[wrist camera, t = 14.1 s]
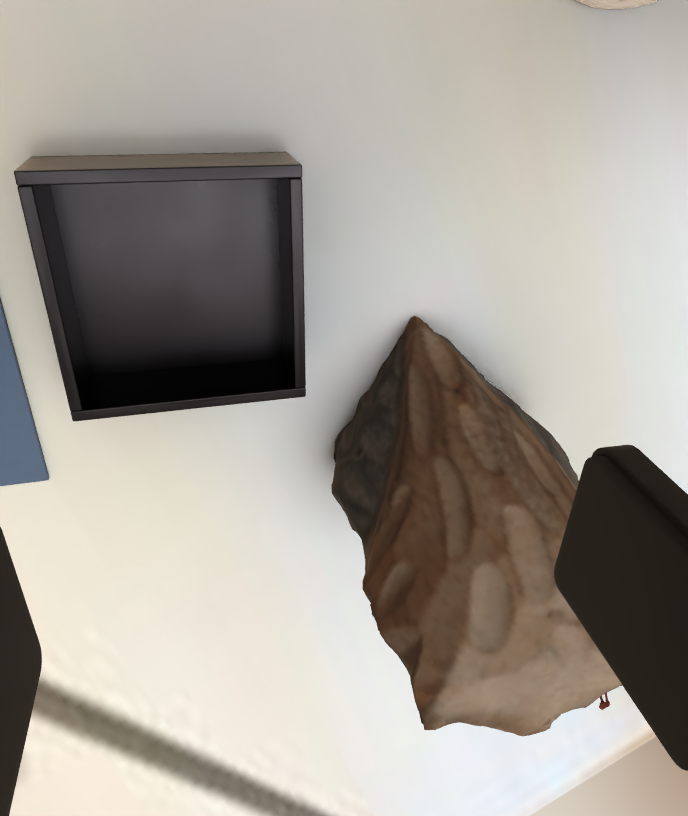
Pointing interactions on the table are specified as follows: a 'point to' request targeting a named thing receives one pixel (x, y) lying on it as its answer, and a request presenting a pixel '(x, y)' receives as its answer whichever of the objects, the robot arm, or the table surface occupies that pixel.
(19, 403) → the cloth
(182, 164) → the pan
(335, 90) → the table surface
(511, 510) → the brown craggy rock
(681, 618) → the robot arm
